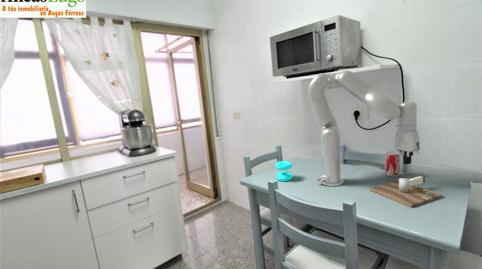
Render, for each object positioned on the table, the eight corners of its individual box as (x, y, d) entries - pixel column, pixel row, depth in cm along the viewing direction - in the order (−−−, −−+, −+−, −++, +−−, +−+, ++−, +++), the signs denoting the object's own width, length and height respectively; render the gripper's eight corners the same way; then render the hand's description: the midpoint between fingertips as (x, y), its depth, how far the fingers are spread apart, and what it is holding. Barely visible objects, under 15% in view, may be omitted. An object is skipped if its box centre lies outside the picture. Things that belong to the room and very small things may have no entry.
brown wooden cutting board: (411, 207, 101) (411, 204, 101) (369, 190, 121) (369, 187, 121) (444, 196, 108) (444, 193, 108) (398, 182, 128) (399, 179, 128)
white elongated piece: (405, 192, 112) (405, 181, 111) (396, 189, 116) (397, 179, 115) (427, 185, 117) (427, 175, 116) (418, 183, 121) (419, 172, 120)
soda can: (381, 174, 141) (382, 152, 139) (393, 172, 142) (394, 151, 139) (390, 178, 134) (390, 155, 132) (402, 176, 135) (403, 154, 132)
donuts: (272, 162, 149) (287, 159, 152) (273, 177, 150) (287, 175, 153) (279, 166, 139) (295, 163, 142) (280, 183, 141) (295, 179, 144)
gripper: (387, 127, 124) (388, 161, 127) (417, 130, 110) (417, 168, 113) (398, 125, 126) (398, 159, 129) (428, 127, 112) (428, 165, 115)
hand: (407, 163), depth 121 cm, fingers closed
